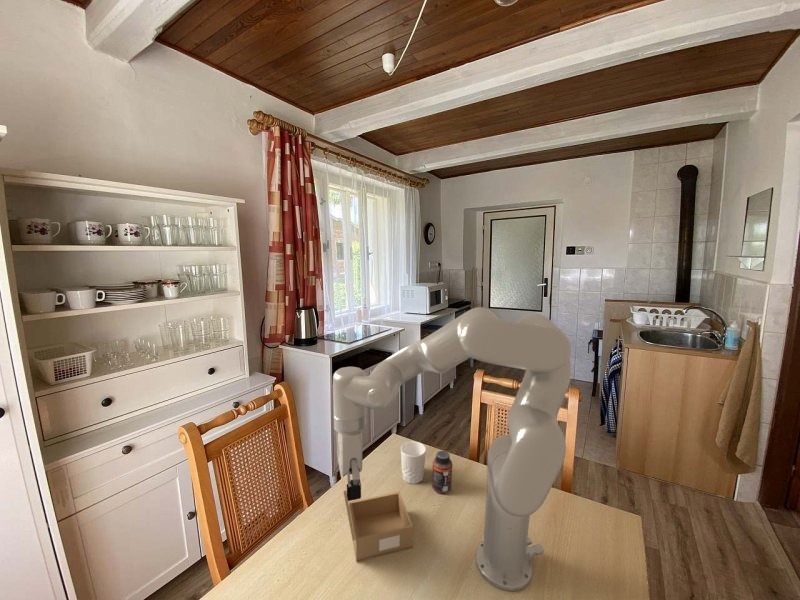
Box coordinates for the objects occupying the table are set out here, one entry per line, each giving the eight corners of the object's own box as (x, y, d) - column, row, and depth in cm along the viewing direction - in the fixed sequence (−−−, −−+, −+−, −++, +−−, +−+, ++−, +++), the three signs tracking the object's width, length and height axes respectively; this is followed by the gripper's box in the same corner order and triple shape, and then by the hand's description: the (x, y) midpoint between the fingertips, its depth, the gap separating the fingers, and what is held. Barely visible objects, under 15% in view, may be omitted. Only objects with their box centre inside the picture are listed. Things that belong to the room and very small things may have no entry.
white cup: (399, 469, 112) (399, 441, 110) (422, 467, 113) (423, 440, 111) (401, 486, 104) (402, 457, 103) (427, 484, 105) (428, 455, 103)
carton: (399, 510, 95) (399, 491, 94) (412, 547, 84) (413, 526, 83) (349, 521, 91) (349, 502, 90) (356, 562, 80) (356, 540, 79)
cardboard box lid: (340, 458, 87) (337, 458, 87) (346, 490, 76) (343, 491, 76) (348, 502, 90) (346, 503, 90) (355, 539, 79) (352, 540, 79)
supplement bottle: (450, 496, 101) (452, 462, 99) (430, 493, 102) (431, 459, 100) (451, 482, 106) (453, 449, 104) (432, 479, 107) (434, 447, 105)
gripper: (330, 404, 87) (332, 464, 90) (337, 443, 70) (339, 515, 74) (359, 401, 89) (360, 459, 92) (373, 438, 73) (373, 508, 76)
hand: (351, 484), depth 83 cm, fingers open, 9 cm apart
